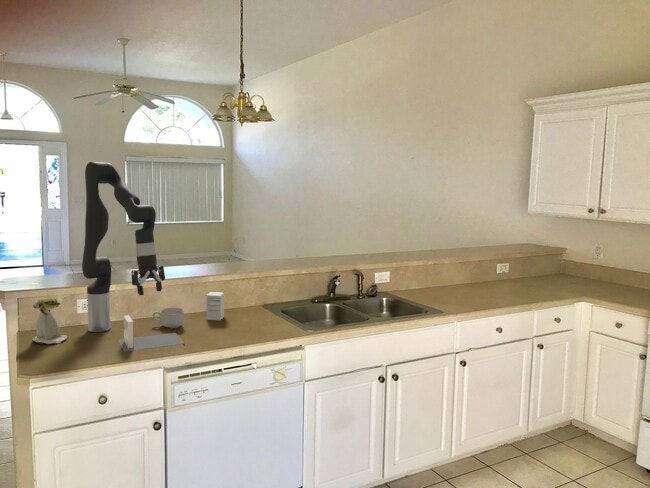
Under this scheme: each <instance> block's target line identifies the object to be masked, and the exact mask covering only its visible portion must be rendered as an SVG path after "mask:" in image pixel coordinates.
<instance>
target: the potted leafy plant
mask: <svg viewBox="0 0 650 488" xmlns="http://www.w3.org/2000/svg"><path fill="white" fill-rule="evenodd" d="M61 303H62V302H61ZM61 303H60V302H58V300H57V299H56V298H53V297H43V298H39V299H38V300H37V301H36V302H35V303H34V304H32V308H34V309H35V310H39V312H40V313H39V315H38V317H37V320H36V324H35V326H36V327H35V330H36V331H35V332H36V336H34V337H33V338H32V339H31V341H32V342H36V343H40V344H43V343H44V344H47V345H50V344H61V343H62V342H63V341H66V339H68V336H67V334H66V335H63V334H62V335H61V334H60V333H59V332H60V330H61V329H60V325H59V322H58V321H57V320H56V318H55V317H54V315H53V314H52V313H51V311H52V309H56V308H58V307H59V306H60V305H61Z"/></svg>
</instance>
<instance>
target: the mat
mask: <svg viewBox="0 0 650 488" xmlns="http://www.w3.org/2000/svg"><path fill="white" fill-rule="evenodd" d="M117 341H118V342H119V345H120V346H121V348H122V351H123V353H125V352H130V351H131V352H132V351H138V350H146V349H147V350H148V349H154V348H161V347H167V346H168V347H169V346H175V345H177V346H178V345H183V346H185V342H184V341H183V339H182V338H181V337H180V336H179V335H178V334H177V333H176V332H171V333H170V332H169V333H163V334H154V335H146V336H138V337H137V336H136V337H134V347H133V348H127V346H126V344H125V342H124V338H122V339H118V340H117Z"/></svg>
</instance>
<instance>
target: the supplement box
mask: <svg viewBox="0 0 650 488" xmlns="http://www.w3.org/2000/svg"><path fill="white" fill-rule="evenodd" d="M224 317H225V292H221V291H220V292H219V291H216V292H215V291H210V292H208V293H207V294H206V321H222V320H223V318H224ZM221 319H222V320H221Z"/></svg>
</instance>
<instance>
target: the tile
mask: <svg viewBox="0 0 650 488" xmlns="http://www.w3.org/2000/svg"><path fill="white" fill-rule="evenodd" d="M134 338H135V321H134V320H133V318H132V317H131V315H129V314H127V315H123V339H124V342H125V344H126V346H127V348H133V347H134Z"/></svg>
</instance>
